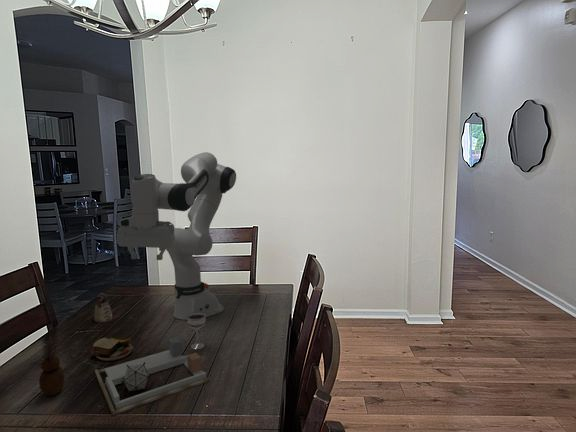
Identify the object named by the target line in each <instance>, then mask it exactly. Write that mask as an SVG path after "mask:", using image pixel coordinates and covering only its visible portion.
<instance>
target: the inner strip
mask: <svg viewBox="0 0 576 432" xmlns="http://www.w3.org/2000/svg"><path fill="white" fill-rule="evenodd" d="M168 346H169V347H168V349H167V350H168V351H167V350H163V351H164V352H163V351H160V352H161V353H160V352H157V353H158V354H156V353H153V354H154V355H153V354H151V356H149V355H146V356H147V357H146V356H143V357H144V358H143V357H139V358H140V359H139V358H136V359H137V360H136V359H133V361H132V360H129V361H130V362H129V361H126V362H127V363H125V362H123V364H122V363H119V364H120V365H118V364H116V366H115V365H113V367H112V366H108V367H109V368H108V367H105V368H106V369H105V368H104V369H105V372H104V373H105V375H106V377H109V376H110V377H111V379H112V378H115V377H118V376H121V375H125V374H126V372H127V369H128V367H127V365H128V366H129V367H130V366H137V365H143V363H144V362H145V364H144V366H145V368H147V367H151V366H154V365H157V364H160V363H164V362H167V361H170V360H174V359H177V358H180V357H183V356H184V355H183V354H182V340H180V338H179V337H178V336H177V337H173V338H169V339H168Z"/></svg>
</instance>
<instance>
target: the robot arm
mask: <svg viewBox="0 0 576 432" xmlns="http://www.w3.org/2000/svg"><path fill="white" fill-rule="evenodd" d="M217 160H218V159H217V158H216V156H215V155H214V154H213V153H211V152H208V151H205V152H201V153H198V154H196V155H194V156H191V157H190V158H189V159H187V160H186V161H184V163H183V164H182V165H181V167H180V175H181V178H182V180H183V181H184V182H183V183H181V182H180V183H171V182H170V183H167V182H166V183H165V182H162V181H161V180H159V179H157V178H156V175H154V174H152V173H145V174H144V173H143V174H138V175H135V176H134V177H133V178H132V181H131V186H130V187H131V188H130V202H131V204H132V209H131V215H130V216H127V217H126V218H123V219H120V220H118V222H117V224H118V228H117V230H116V231H117V233H116V241H117V245H118V247H127V251H128V253H130V255H131V256H130V257H131V259H132V260H137V259H138V253H136V252H135V250H134V249H135V248H153V249H154V248H155V249H156V248H157V249H159V250H158V251H159V253H158V254H157V255H156V261H162V260H163V256H164V254H165V252H167V253H168V255H169V257H170V259H171V261H172V265H173V269H174V280H175V281H174V283H175V284H174V297H175V301H174V302H175V303H174V311H173V314H172V316H173V317H174V318H175V319H178V320H183V321H184V320H187V321H188V317H187V316H188V315H189V314H191V313H195V312H202V313H205V314H206V315H205V318H206V319H207V318H209V317H212V316H214V315H217V314H219V313H222V312H224V306H223V305H222V304H221V303H219V301H218V298H217V296H216V295H215V294H214V293H212V292H210V291H209V290H207V289H208V288H209V287H210V286H209V284H208V283H206V282H203V281H201V280H202V279H201V275H202V274H201V265H200V264H199V262H197V261H196V260H195V258H194V257H195V256H196V257H199V256H206V255H208V254H209V253H210V251H211V250H212V248H213V243H214V242H213V239H212V236H211V234H210V227H211V224H212V222H213V219H214V218H215V215H216V214H217V211H218V209H219V207H220V204H221V202H222V198H223V194H226V193H227V192H228V191H230V190H231V189H232V188H233V187H234V186H235V184H236V182H237V181H236V180H237V173H236V170H235V169H233V168H232V167H230V166H225V165H223V164H219V163H218V161H217ZM159 210H171V211H177V212H187V211H188V212H187V218H188V220H189V222H190V224H189V226H188V228H180V227H175V225H174V224H173V223H172V222H170V221H163V220H160V218H159V216H160V214H159Z"/></svg>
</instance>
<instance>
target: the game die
mask: <svg viewBox="0 0 576 432" xmlns="http://www.w3.org/2000/svg"><path fill="white" fill-rule="evenodd" d="M144 364H145V362H144V363H143V365H137V366H130V367H129V366H128V365H127V367H128V369H127V372H126V375H125V377H124V378H123V381H121V382H124V385H125V387H126V389H127V390H128V391H127V395H129V394H130V393H131V392H135V391H141V390H143V391H144V392H147V389H146V387H147V383H148V380H149V379H150V378H151V377H152V376H151V375H152V374H151V373H150V374H149V373H148V371H147V369H146V368H145V366H144Z"/></svg>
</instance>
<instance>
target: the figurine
mask: <svg viewBox="0 0 576 432" xmlns="http://www.w3.org/2000/svg"><path fill="white" fill-rule="evenodd" d="M93 314H94V315H93V318H94V319H93V320H94V322H95V323H101V324H102V323H107V322H110V321H112V319H113V312H112V308H111V305H110V301H109V297H108V294H106V293H104V292H101V293H99V294H98V295H97V303H96V304H95V306H94V313H93Z"/></svg>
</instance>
